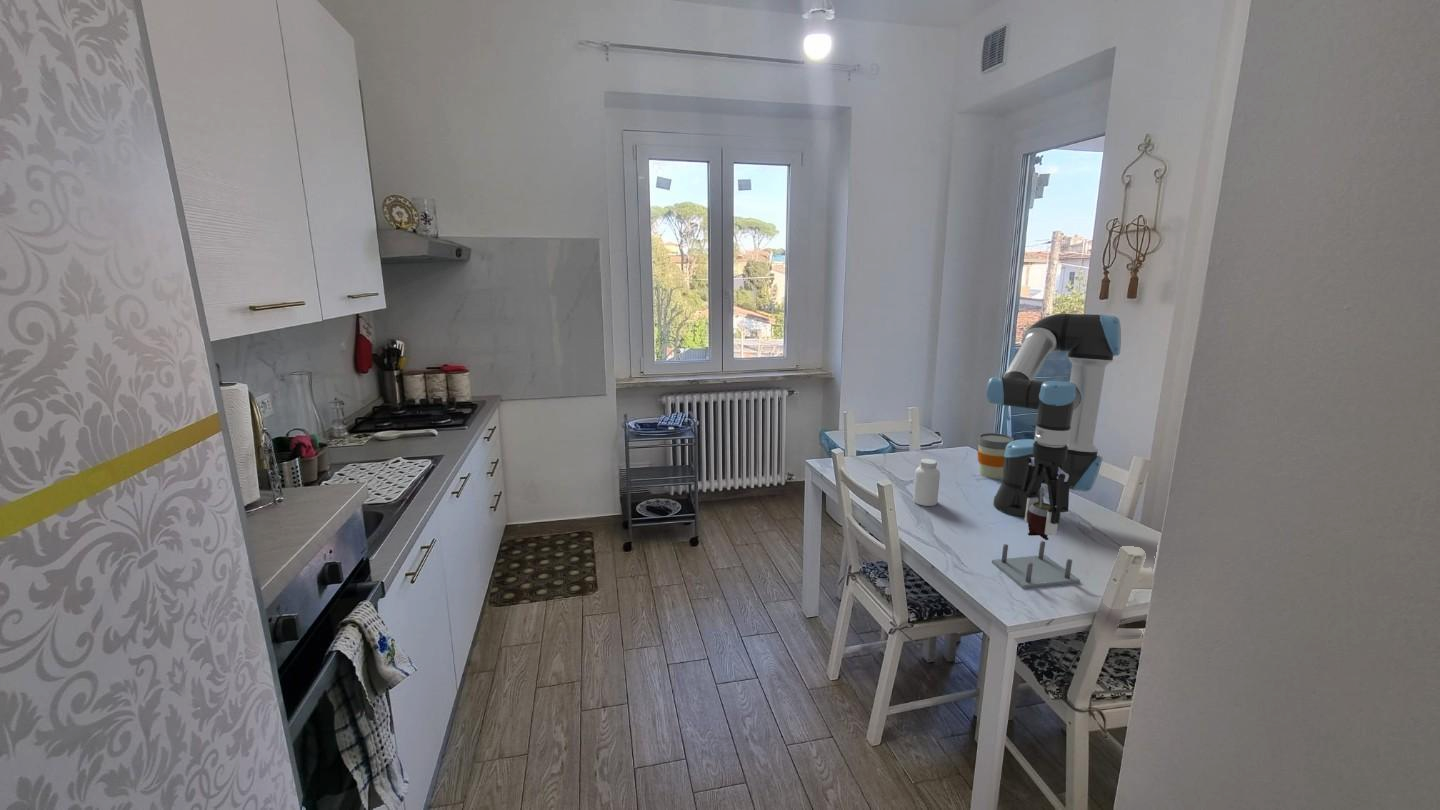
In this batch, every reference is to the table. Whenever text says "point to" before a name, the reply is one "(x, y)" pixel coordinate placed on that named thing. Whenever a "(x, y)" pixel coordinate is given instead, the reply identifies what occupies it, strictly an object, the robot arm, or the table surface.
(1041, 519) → the mate gourd
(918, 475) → the pill bottle
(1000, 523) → the table surface
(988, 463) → the reusable coffee cup
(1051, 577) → the tray
